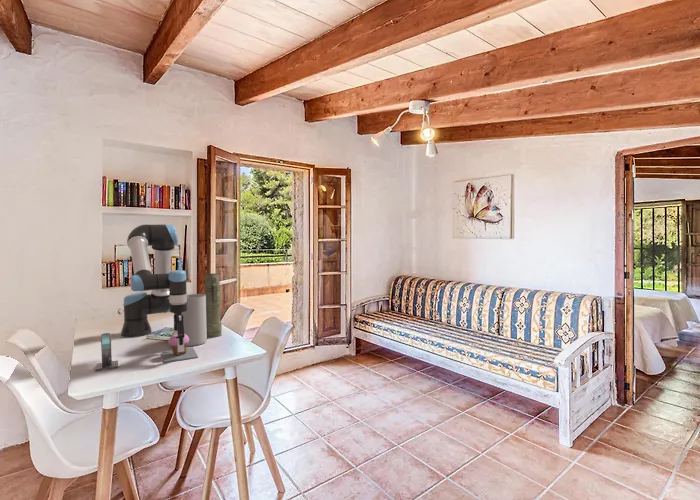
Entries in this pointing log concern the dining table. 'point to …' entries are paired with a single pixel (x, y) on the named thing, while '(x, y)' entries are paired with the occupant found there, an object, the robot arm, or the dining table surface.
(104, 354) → the post
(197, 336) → the cylinder vase
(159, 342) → the dining table surface
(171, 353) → the rubber mat
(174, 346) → the cupcake
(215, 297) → the thermos
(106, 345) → the bar
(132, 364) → the dining table surface
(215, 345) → the dining table surface
